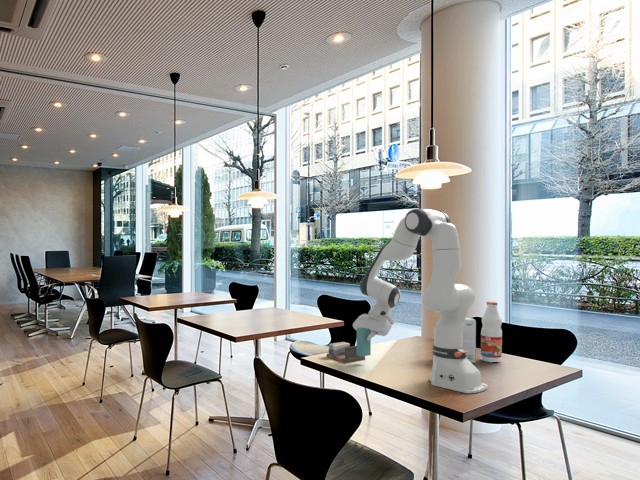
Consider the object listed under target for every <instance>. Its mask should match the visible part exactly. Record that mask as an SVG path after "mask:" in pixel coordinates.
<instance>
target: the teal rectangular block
mask: <svg viewBox="0 0 640 480" xmlns="http://www.w3.org/2000/svg"><path fill="white" fill-rule="evenodd" d="M370 332H371V330H369V329H368V328H357V330H356V343H355V344H356V345H355V346H356V355H358V356H362V357H363V356H365V357H368V356H371V354H372V353H371V352H372V351H371V350H372V349H371V348H372V347H371V343H372V342H371V340H372V338H371V339H370V341H366V340H365V337H366V336H368V335H369V334H370Z"/></svg>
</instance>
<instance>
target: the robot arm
mask: <svg viewBox="0 0 640 480" xmlns="http://www.w3.org/2000/svg"><path fill="white" fill-rule="evenodd" d="M421 236H422V237H426V236H428V237H429V239H430V241H431V252H432V253H431V256H432V257H431V258H432V273H431V278H430V282H429V284H428V286H427V287H426V289H425V290H424V291H423V294H422V303H423V305H424V307H425V308H426V309H427V310H428V311H429V312H433V313H438V314H440V317H439V318H438V321H437V322H436V323H435V325H434V328H433V329H434V331H433V336H434V337H433V341H434V342H433V345H432V356H433V359H432V368H431V371H430V375H429V378H428V380H429V381H430V384H431V385H432V386H435V387H438V388H443V389H447V390H452V391H456V392H460V393H464V394H476V393H482V392H484V391H486V390H487V389H488V384H486V383H484V382H482V376H481V374H482V373H481V372H480V370H479V369H478V368H477V367H476V366H475V365H474V363H471V362H470V361H469V360H468V359H467V358H466V354H468V353H467V352H468V351H465V350H464V348H463V327H464V322H465V319H466V318H467V315H468V313H469V310H470V308H471V306H472V305H474V302H475V293H474V290H473V289H472V288H471V287H470V286H468V285H466V284H462V283H456V280H457V276H458V275H459V273H460V271H462V256H461V245H460V238H459V233H458V231H457V227H456V226H455V224H453V223H451V219H450V217H449V215H448V214H447V213H445V212H443V211H442V210H435V209H431V208H414V209H411V210H409V211H408V212H407V213H406V214H405V217H403V218H402V219H401V220H400V221H399V223H398V225H397V226H396V229H395V231H394V233H393V235H392V239H391V240H390V242H389V243H388V244H386V245H383V246H382V247H381V248H380V249H379V250H378V252H377V254H376V256H375V258H374V259H373V261H372V263H371V264H370V266H369V268H368V270H367V272H366V273H365V275H364V276H363V277H362V279H361V281H360V283H359V289H360V292H361V293H362V295H364V296H367V297H370V298H372V299H373V300H376V302H375V303H374V304H373V306H372V307H371V308H370V310H369V311H368V313H362V314H361V315H359V316H358V317H357V318H356V319H355V320H354V322H353V323H352V327H353V329H354V330H355V331H357V328H368V329H369V330H371V332H370V334H369V335H368V336H366V337H365V340H366V341H370V339H371V340H372V338H374V337H375V336H381V337H386V336H387V335H388V334H389V333H390V331H391V329H392V326H393V325H394V324H395V320H394V319H393V318H392V316H391V315H390V314H391V313H392V311H394V309H395V308H396V306H397V304H398V303H399V301H400V298H401V295H402V294H401V291H400V289H399V287H397V286H396V285H395V284H393V283H391V282H388V281H386V280H384V279H381V278H379V277H378V274H379V272H380V269H381V268H382V266H383V264H384V263H385V262H386V261H398V262H399V261H405V260H408V259H410V258H411V257H412V256H413V255H414V253H415V251H416V249H417V246H418V242H419V240H420V238H421Z"/></svg>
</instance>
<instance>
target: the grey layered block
mask: <svg viewBox="0 0 640 480" xmlns="http://www.w3.org/2000/svg"><path fill="white" fill-rule="evenodd" d="M326 358H328V359H332V360H334V361H337V362H341V363H343V364H350V363H355V362H360V361H365V360H366V356H363V357H362V356H358V355H356V345H353V346H351V343H349V342H345V341H341V342H333V343H329V344H328V353H326Z"/></svg>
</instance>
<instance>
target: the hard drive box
mask: <svg viewBox="0 0 640 480" xmlns="http://www.w3.org/2000/svg"><path fill="white" fill-rule="evenodd" d="M476 342H477V321H476V319H474V318H473V317H466V319H465V322H464V327H463V348H464V350H465V351H468V352H467V353H468V354H466V358H467V359H468V360H469V361H470V362H471V363H472V364H476V363H477V360H476V359H477V354H476V353H477V351H476V350H477V343H476Z"/></svg>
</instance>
